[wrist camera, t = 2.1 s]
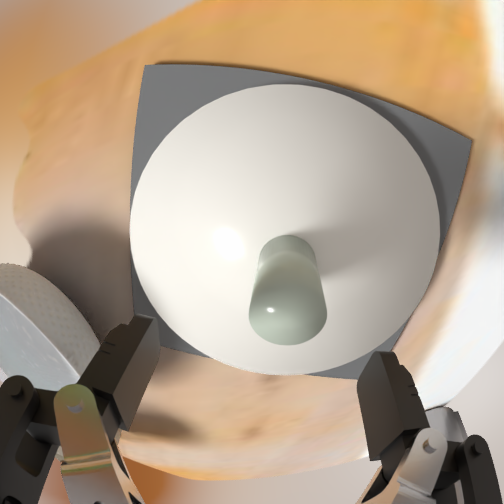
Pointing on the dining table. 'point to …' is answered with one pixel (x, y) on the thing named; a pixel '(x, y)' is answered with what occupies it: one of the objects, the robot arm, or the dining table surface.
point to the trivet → (236, 79)
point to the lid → (284, 229)
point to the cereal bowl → (41, 331)
